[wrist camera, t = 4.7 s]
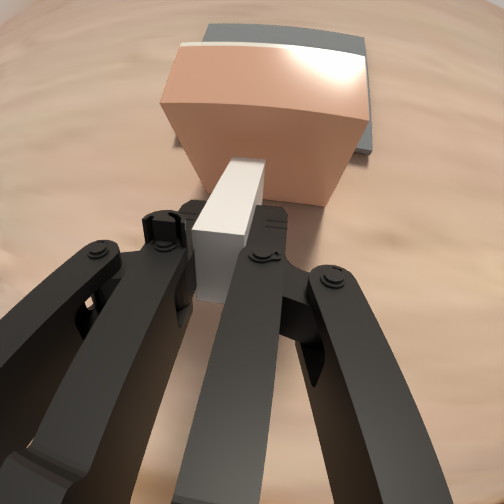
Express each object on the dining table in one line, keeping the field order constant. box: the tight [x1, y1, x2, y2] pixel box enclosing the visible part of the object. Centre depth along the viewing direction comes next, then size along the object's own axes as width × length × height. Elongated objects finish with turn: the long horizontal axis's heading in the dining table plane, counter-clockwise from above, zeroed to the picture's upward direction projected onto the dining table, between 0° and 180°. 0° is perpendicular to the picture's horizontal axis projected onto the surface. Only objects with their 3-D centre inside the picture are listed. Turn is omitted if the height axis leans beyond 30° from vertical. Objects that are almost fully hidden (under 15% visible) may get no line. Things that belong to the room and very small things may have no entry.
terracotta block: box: [160, 42, 369, 207], centre depth 19 cm, size 4×9×12 cm, turn 82°
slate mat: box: [203, 24, 372, 155], centre depth 26 cm, size 14×16×1 cm
